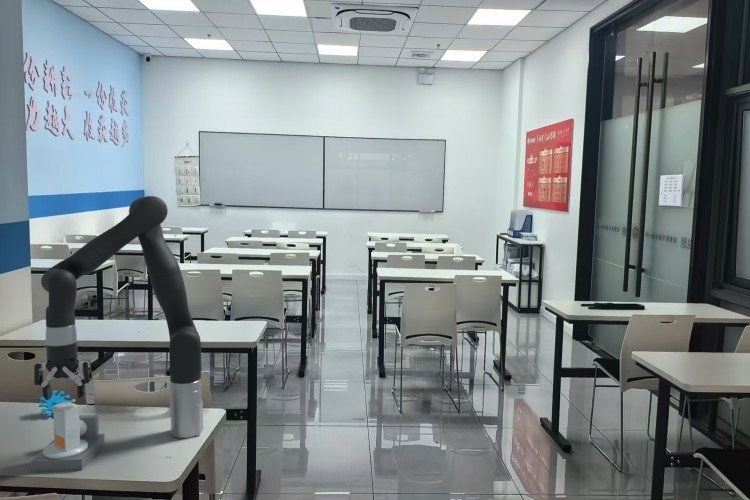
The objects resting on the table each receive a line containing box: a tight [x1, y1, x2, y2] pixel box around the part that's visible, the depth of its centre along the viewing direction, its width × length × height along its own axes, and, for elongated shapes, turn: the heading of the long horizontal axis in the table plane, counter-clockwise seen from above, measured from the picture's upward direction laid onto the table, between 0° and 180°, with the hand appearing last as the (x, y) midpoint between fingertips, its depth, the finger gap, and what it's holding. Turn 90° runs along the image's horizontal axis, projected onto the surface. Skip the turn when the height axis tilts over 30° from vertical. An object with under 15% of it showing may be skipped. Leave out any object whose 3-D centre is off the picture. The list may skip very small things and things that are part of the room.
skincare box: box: [52, 400, 80, 451], centre depth 160 cm, size 6×4×12 cm
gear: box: [38, 389, 76, 418], centre depth 195 cm, size 11×6×10 cm
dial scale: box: [30, 414, 106, 473], centre depth 162 cm, size 13×17×9 cm
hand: (64, 398), depth 159 cm, fingers open, 8 cm apart
